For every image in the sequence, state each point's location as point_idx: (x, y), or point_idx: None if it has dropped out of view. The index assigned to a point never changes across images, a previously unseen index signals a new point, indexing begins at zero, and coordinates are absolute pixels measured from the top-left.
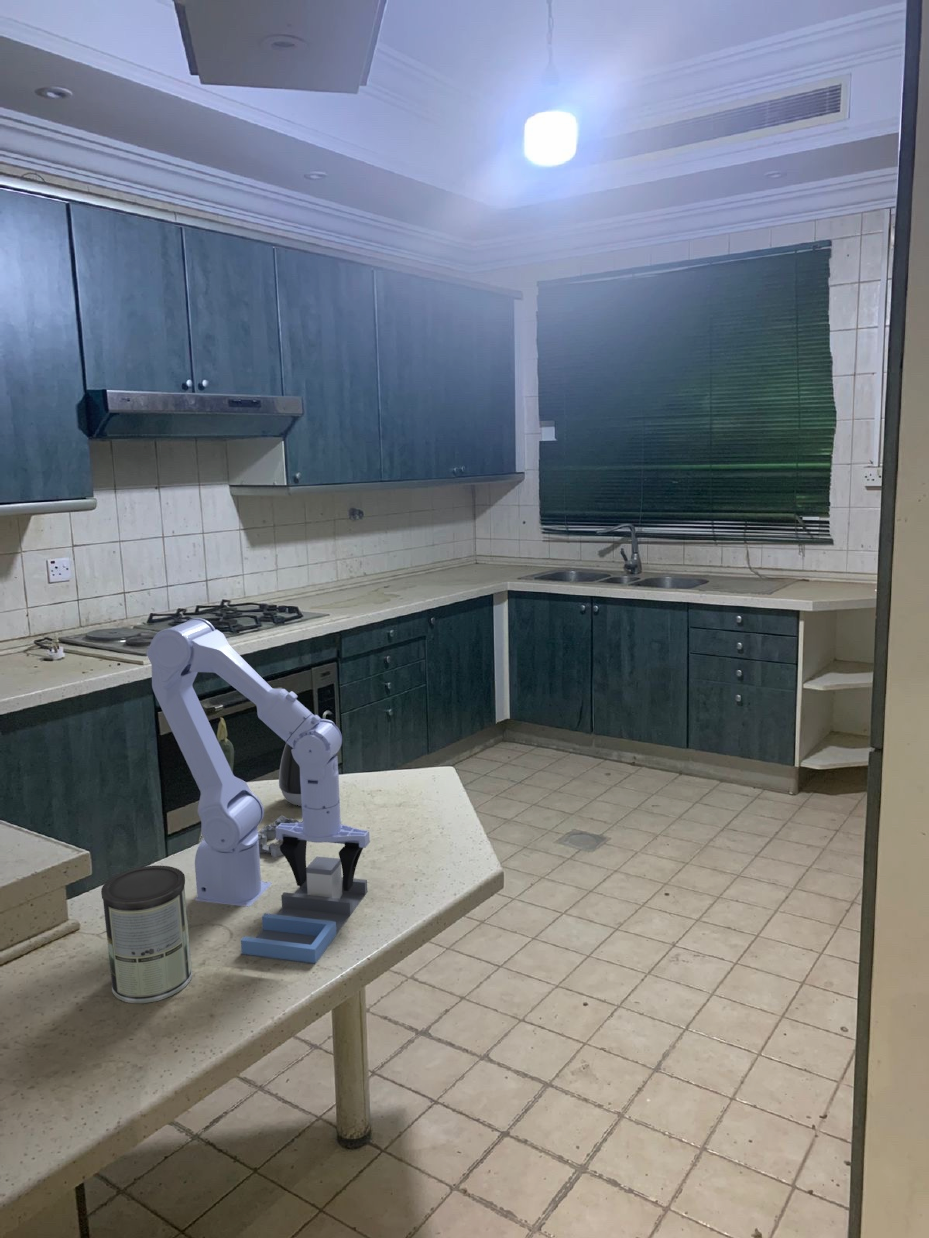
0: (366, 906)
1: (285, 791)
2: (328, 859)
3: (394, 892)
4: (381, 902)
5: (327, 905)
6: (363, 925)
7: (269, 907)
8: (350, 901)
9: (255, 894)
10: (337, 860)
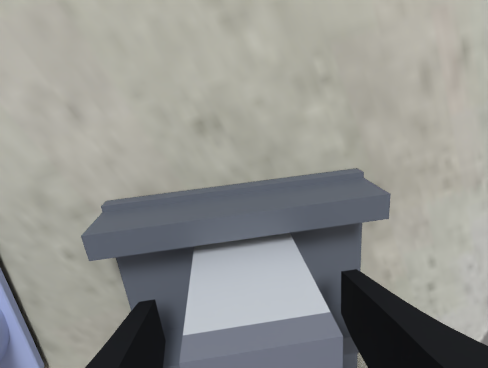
0: (375, 235)
1: None
2: (272, 364)
3: (442, 123)
4: (414, 199)
5: None
6: None
7: (93, 336)
8: None
9: (4, 339)
10: (331, 356)
